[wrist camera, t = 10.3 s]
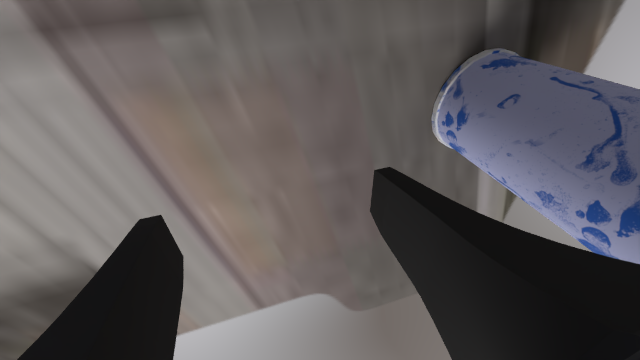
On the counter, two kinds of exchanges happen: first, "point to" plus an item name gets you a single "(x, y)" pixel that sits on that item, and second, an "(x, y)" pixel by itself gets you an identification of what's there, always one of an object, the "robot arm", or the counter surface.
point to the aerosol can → (551, 143)
